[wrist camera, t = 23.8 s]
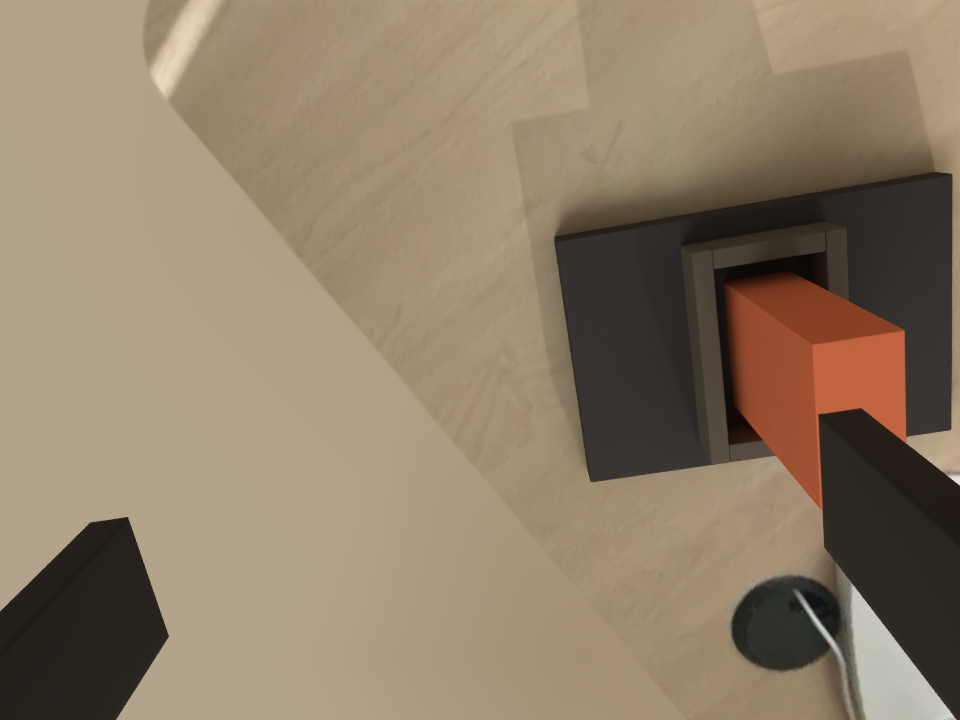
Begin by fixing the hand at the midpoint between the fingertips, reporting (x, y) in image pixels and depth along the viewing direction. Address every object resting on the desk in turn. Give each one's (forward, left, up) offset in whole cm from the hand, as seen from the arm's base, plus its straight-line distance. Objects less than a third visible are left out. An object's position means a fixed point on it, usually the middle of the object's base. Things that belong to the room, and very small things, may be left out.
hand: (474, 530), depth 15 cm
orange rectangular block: (+9, -12, -27) cm, 31 cm away
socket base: (+9, -12, -29) cm, 32 cm away
